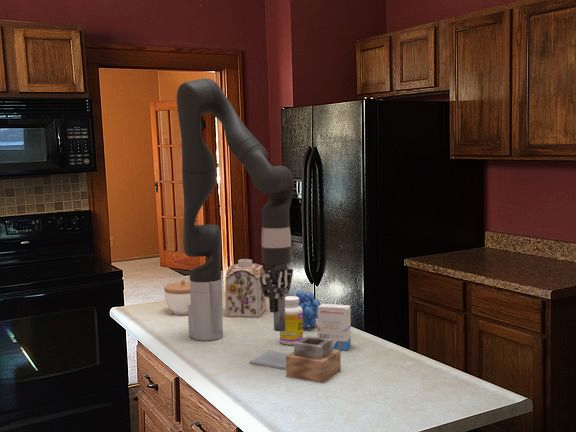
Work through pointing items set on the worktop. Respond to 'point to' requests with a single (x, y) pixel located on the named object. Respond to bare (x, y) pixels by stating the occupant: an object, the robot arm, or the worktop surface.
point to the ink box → (335, 325)
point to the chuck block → (313, 359)
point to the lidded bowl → (178, 297)
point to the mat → (271, 359)
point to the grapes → (308, 308)
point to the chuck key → (280, 310)
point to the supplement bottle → (292, 321)
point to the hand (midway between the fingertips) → (277, 310)
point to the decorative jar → (244, 290)
